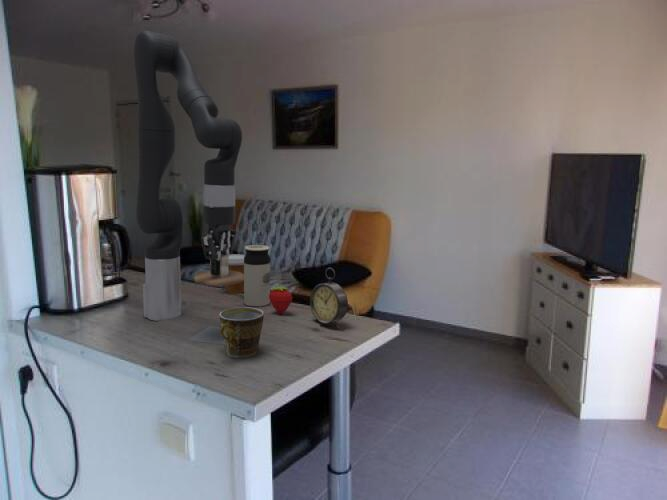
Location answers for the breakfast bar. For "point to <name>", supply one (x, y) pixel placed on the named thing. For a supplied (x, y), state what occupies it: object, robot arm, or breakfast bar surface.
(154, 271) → the robot arm
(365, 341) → the breakfast bar surface
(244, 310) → the ceramic cup
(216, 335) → the mat
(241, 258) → the disposable coffee cup
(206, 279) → the lid
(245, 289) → the travel mug
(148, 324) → the breakfast bar surface
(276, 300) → the strawberry
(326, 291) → the alarm clock
